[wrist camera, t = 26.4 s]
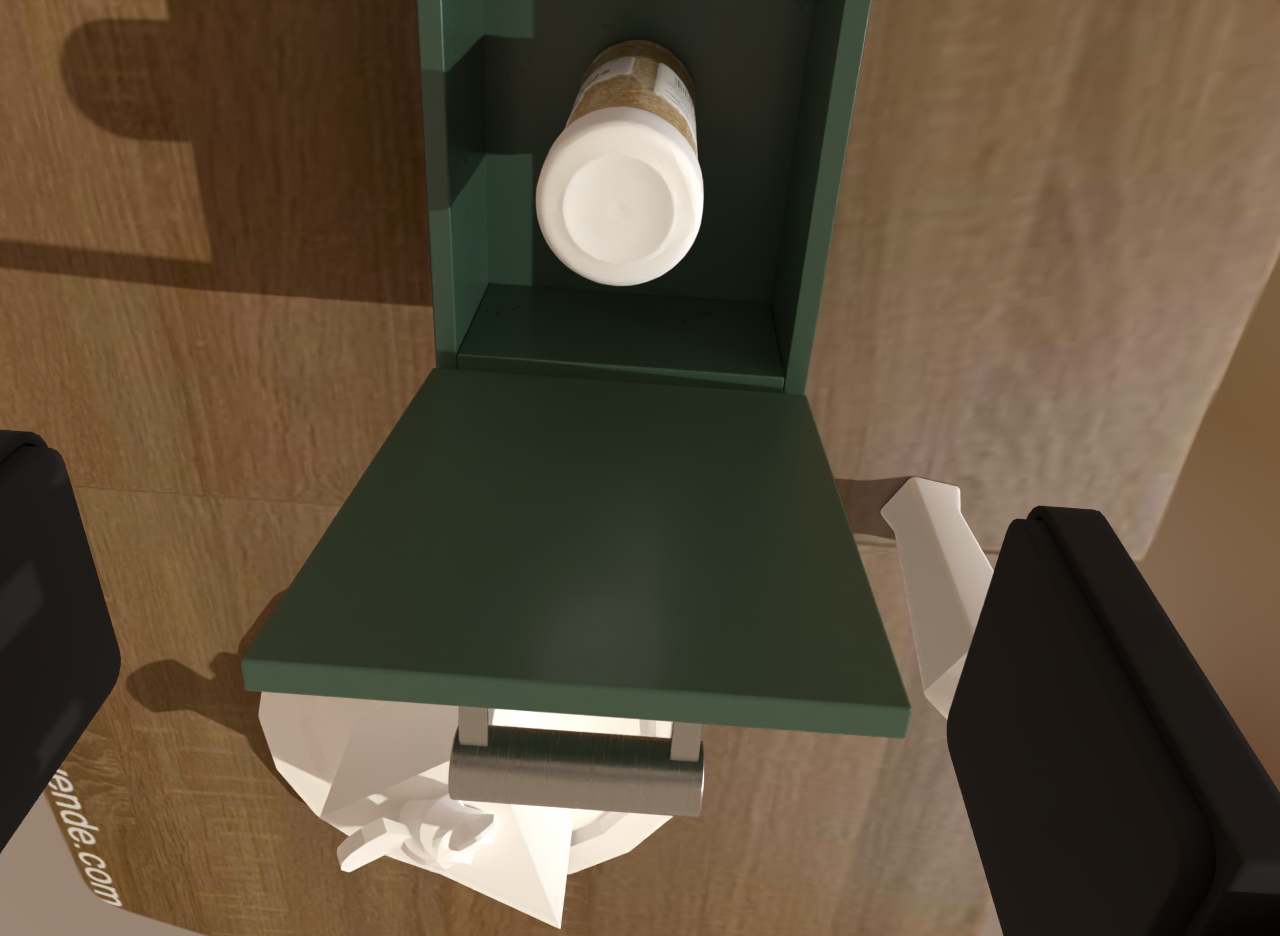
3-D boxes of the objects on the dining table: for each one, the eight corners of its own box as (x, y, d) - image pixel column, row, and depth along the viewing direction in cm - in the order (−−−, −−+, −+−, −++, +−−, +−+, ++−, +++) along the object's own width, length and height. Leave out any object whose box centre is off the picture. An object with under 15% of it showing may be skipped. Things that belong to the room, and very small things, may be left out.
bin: (460, -160, 34) (407, -163, 27) (853, -131, 34) (893, -128, 27) (474, 292, 43) (435, 371, 36) (785, 314, 43) (804, 398, 36)
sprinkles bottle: (578, 36, 36) (530, 118, 25) (701, 40, 36) (709, 124, 25) (579, 161, 39) (535, 288, 27) (694, 165, 39) (699, 294, 27)
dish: (176, 670, 56) (70, 840, 46) (533, 477, 48) (495, 633, 38) (447, 904, 66) (406, 1082, 57) (776, 777, 58) (793, 958, 49)
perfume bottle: (929, 562, 50) (1014, 807, 37) (860, 523, 48) (922, 762, 36) (992, 499, 47) (1105, 735, 35) (921, 457, 46) (1010, 685, 34)
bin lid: (238, 660, 20) (264, 857, 22) (913, 709, 20) (869, 901, 22) (432, 367, 36) (436, 499, 38) (806, 394, 36) (787, 524, 38)
